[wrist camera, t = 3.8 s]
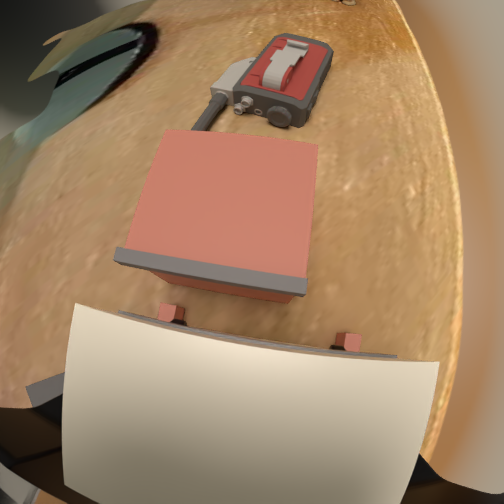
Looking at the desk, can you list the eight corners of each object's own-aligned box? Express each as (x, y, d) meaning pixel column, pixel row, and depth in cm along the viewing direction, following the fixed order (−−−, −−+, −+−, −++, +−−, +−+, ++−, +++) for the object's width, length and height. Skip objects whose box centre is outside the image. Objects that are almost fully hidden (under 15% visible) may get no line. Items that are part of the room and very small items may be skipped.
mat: (138, 461, 15) (135, 463, 14) (68, 470, 14) (64, 472, 14) (92, 362, 17) (87, 363, 16) (29, 386, 16) (25, 386, 16)
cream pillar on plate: (292, 395, 14) (382, 542, 2) (205, 381, 15) (62, 485, 2) (301, 343, 15) (442, 357, 3) (215, 329, 16) (74, 298, 3)
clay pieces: (338, 407, 16) (385, 446, 9) (150, 375, 17) (89, 394, 9) (360, 215, 20) (404, 156, 12) (191, 190, 21) (162, 121, 13)
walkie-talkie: (261, 44, 27) (168, 170, 22) (261, 14, 23) (151, 136, 17) (334, 62, 26) (271, 205, 20) (341, 32, 21) (273, 172, 16)
